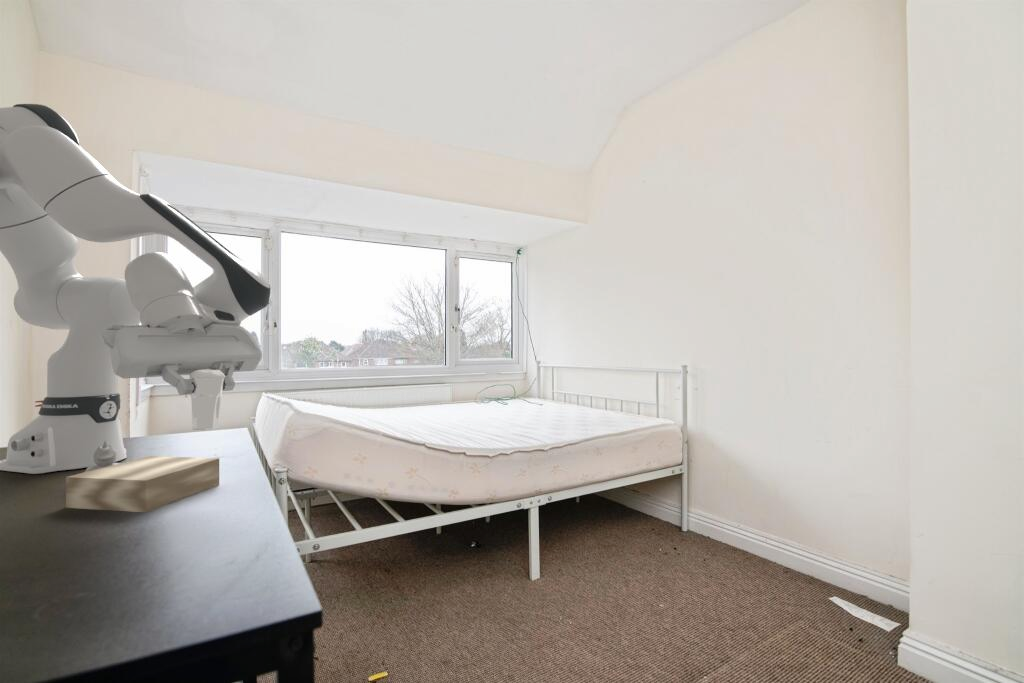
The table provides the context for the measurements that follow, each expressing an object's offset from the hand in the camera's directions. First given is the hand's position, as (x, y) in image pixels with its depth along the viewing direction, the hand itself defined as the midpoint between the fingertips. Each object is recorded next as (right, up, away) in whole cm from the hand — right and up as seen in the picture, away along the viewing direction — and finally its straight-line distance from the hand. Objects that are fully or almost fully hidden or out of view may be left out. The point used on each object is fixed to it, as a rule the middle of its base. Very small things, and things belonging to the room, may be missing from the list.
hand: (208, 390), depth 73 cm
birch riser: (-13, -18, +5) cm, 23 cm away
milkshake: (0, -6, 0) cm, 6 cm away
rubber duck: (-26, -18, +11) cm, 33 cm away
